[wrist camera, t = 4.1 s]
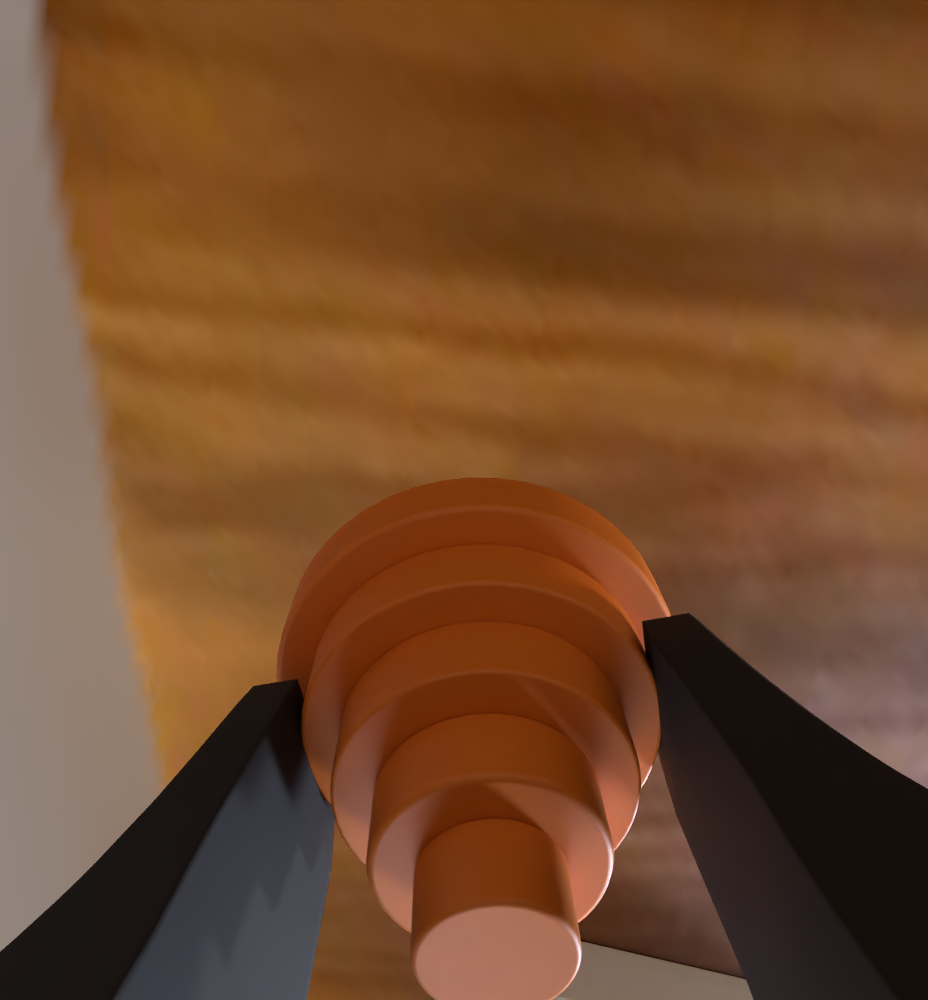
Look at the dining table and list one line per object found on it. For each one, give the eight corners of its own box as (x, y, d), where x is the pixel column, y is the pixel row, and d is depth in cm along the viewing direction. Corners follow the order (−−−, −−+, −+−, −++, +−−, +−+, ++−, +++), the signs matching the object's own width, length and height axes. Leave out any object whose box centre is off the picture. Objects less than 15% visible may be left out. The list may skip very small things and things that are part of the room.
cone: (249, 740, 12) (137, 1084, 8) (348, 421, 10) (271, 640, 6) (576, 823, 13) (644, 1175, 9) (729, 544, 11) (924, 817, 7)
